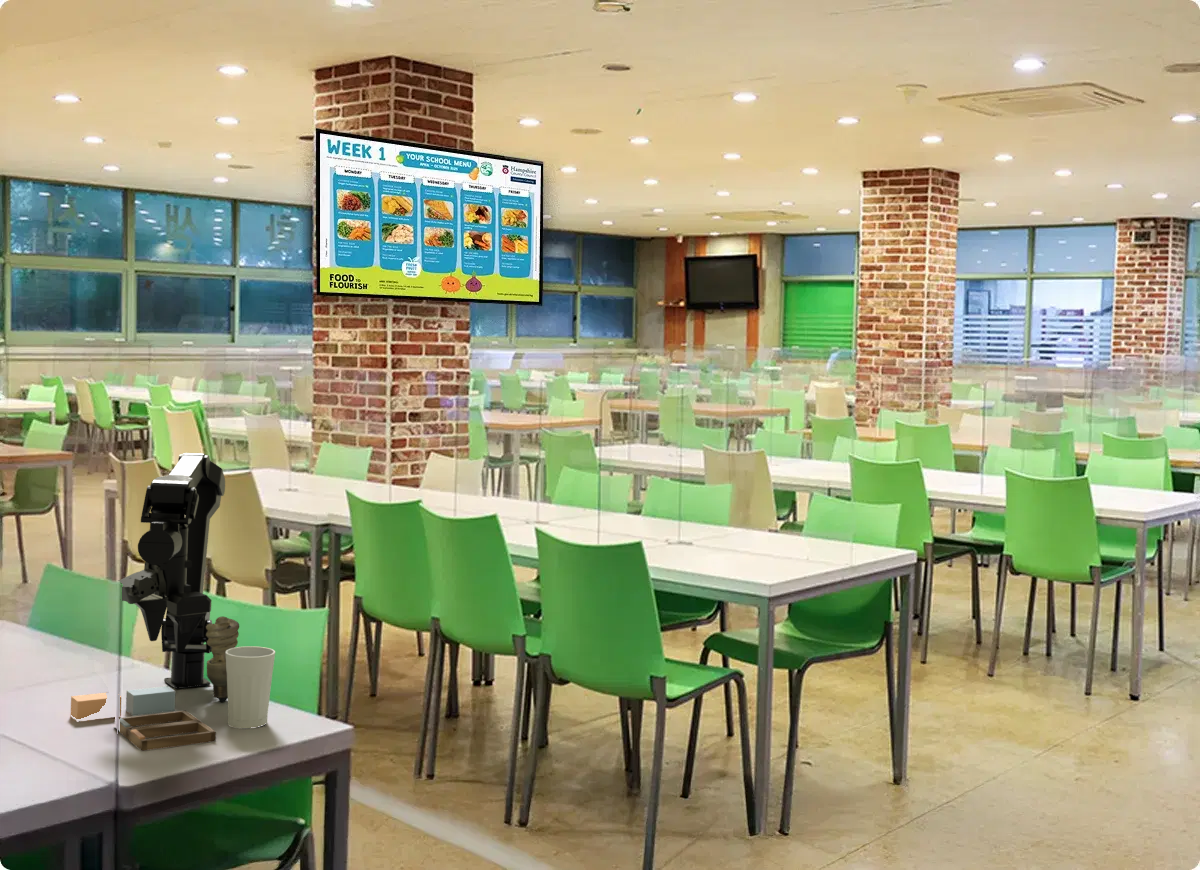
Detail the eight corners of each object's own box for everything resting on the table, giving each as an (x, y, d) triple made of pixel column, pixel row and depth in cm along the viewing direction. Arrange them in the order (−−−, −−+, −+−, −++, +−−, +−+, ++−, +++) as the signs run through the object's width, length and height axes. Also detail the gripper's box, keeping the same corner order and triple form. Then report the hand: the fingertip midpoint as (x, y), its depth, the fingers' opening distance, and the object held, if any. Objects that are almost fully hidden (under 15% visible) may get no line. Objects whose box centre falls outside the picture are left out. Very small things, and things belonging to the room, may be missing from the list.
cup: (259, 732, 218) (262, 659, 217) (213, 726, 220) (216, 654, 219) (280, 719, 226) (283, 649, 225) (236, 714, 228) (239, 644, 227)
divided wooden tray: (113, 727, 216) (114, 716, 216) (185, 719, 223) (185, 708, 223) (141, 750, 205) (142, 739, 205) (215, 741, 212) (216, 729, 212)
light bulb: (219, 707, 231) (222, 621, 230) (196, 701, 234) (199, 616, 233) (243, 701, 236) (246, 616, 235) (220, 695, 239) (223, 612, 238)
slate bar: (125, 711, 226) (126, 690, 226) (167, 706, 231) (167, 686, 230) (132, 716, 224) (133, 695, 223) (174, 712, 228) (175, 691, 228)
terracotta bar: (70, 717, 221) (71, 696, 221) (113, 712, 225) (114, 691, 225) (77, 723, 218) (77, 701, 218) (120, 718, 222) (121, 696, 222)
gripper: (97, 549, 226) (94, 641, 227) (150, 567, 213) (147, 664, 214) (159, 544, 234) (156, 633, 235) (214, 561, 221) (211, 655, 222)
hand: (166, 646), depth 226 cm, fingers open, 9 cm apart
